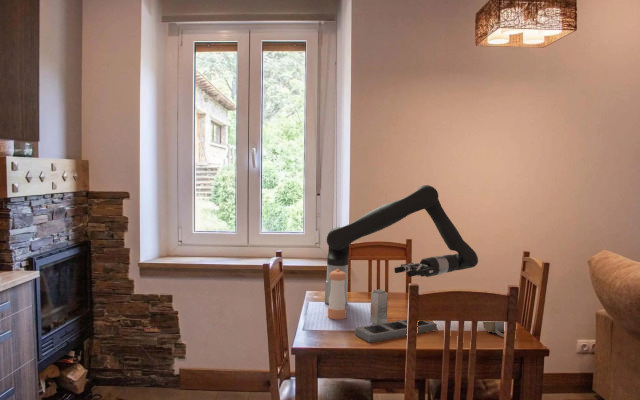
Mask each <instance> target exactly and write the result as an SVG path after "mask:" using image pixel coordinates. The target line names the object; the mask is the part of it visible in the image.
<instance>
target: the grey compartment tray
mask: <svg viewBox="0 0 640 400" xmlns="http://www.w3.org/2000/svg"><path fill="white" fill-rule="evenodd" d="M407 319H408V318H406V319H402V320H395V321H390V322H388V321H387V323H382V324H376V325H375V324H371V325H370V324H369V325H365V326H359V327H355V331H354V336H356V337H358V338H360V339H362V340H363V341H366V342H368V343H369V344H371V343H377V342H382V341H387V340H392V339H393V340H394V339H399V338H403V337H407V336H406V334H407ZM437 327H438V326H437V323H435V322H433V321H430V320H428V321H419V322H418V333H421V334H423V333H422V332H426V333H428V332H427V331H431V332H434V331H433V330H436V331H437Z"/></svg>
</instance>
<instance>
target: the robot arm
mask: <svg viewBox="0 0 640 400" xmlns="http://www.w3.org/2000/svg"><path fill="white" fill-rule="evenodd" d="M423 210H425V212H426V213H427V214H428V215H429V218H431V220H432V221H433V223H434V225H435V227H436V230H437V231H438V233H439V235H440V237H441V239H442V240H443V242H444V243H445V245H446V246H447V248H448V250H450V251H453V252H456V253H455V254H445V255H436V256H435V255H434V256H430V257H424V258H422V259H421V260H420V262H419V263H418V262H416V263H414V262H408V263H404V264H403V263H401V264H400V266H397V267H396V266H395V267H394V273H395V274H400V273H406V276H407V277H408V278H410V277H415V276H416V277H419V276H420V277H424V278H425V277H426V278H431V277H435V276H440V275H443V274H447V273H451V272H455V271H463V270H467V269H470V268H475V267H476V266H477V265H478V264H479V258H478V255H477V253H476V251H475V250H474V249H473V248H472V247H471V246H470V245H469V243H467V242H466V241H465V240H464V239H463V237H462V235H461V234H460V232H459V231H458V229H457V228H456V226H455V225H454V223H453V222H452V220H451V219H450V218H449V216H448V215H447V213H446V212H445V210H444V208H443V207H442V204H441V202H440V200H439V192H438V190H437V189H436V188H435V187H434V186H432V185H429V184H427V185H422V186H421V185H420V187H418V188H417V190H415V191H414V192H412V193H410V194H408V195H407V196H405V197H403V198H400V199H396V200H394V201H392V202H387V203H385V204H383V205H380V206H379V207H377V208H374V209H373V210H370V211H369V212H367V213H366V214H363V215H362V216H360V217H359V218H357V219H356V220H355V221H353V222H351V223H349V224H346V225H343V226H341V227H340V226H338V227H334V228H332V229H331V230H330V231H329V232H328V233H327V237H326V243H327V246H328V252H327V253H328V254H327V258H326V281H325V282H324V283H325V284H324V304H328V305H329V296H330V291H331V279H330V278H329V274H330V273H331V272H332V271H336V269H340V271H343V272H345V273H346V275H347V278H346V279H345V285H344V291H345V300H346V301H345V305H346V304H347V303H348V281H349V280H348V278H349V276H348V275H349V259H350V244H352V243H354V242H355V241H357V240H359V239H360V238H361V239H362V238H363V237H366V236H369V235H372V234H374V233H376V232H377V233H378V232H379V231H382V230H384V229H386V228H389V227H390V226H393V225H394V224H396V223H398V222H399V221H402V220H403V219H405V218H406V217H408V216H409V215H411V214H414V213H417V212H419V211H423Z"/></svg>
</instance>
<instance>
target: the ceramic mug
mask: <svg viewBox="0 0 640 400" xmlns="http://www.w3.org/2000/svg"><path fill="white" fill-rule="evenodd" d="M482 325H483V327H484V330H485V331H486V330H487V331H489V332H492V333H491V334H497V335H498V336H499V335H500V336H499V337H501V336H503V337H502V338H504V334H505V332H504V322H483V321H482ZM487 331H486V332H487ZM489 332H488V333H489ZM501 332H503V333H501Z"/></svg>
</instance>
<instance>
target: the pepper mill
mask: <svg viewBox="0 0 640 400" xmlns="http://www.w3.org/2000/svg"><path fill="white" fill-rule="evenodd" d="M329 278H330V279H331V291H330V296H329V304H328V307H327V318H329V319H332V320H344V319H346V318H347V307H346V304H345V301H346V300H345V291H344V285H345V279H346V278H347V275H346V273H345V272H343V271H340V269H336V271H332V272H331V273H330V274H329Z"/></svg>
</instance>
